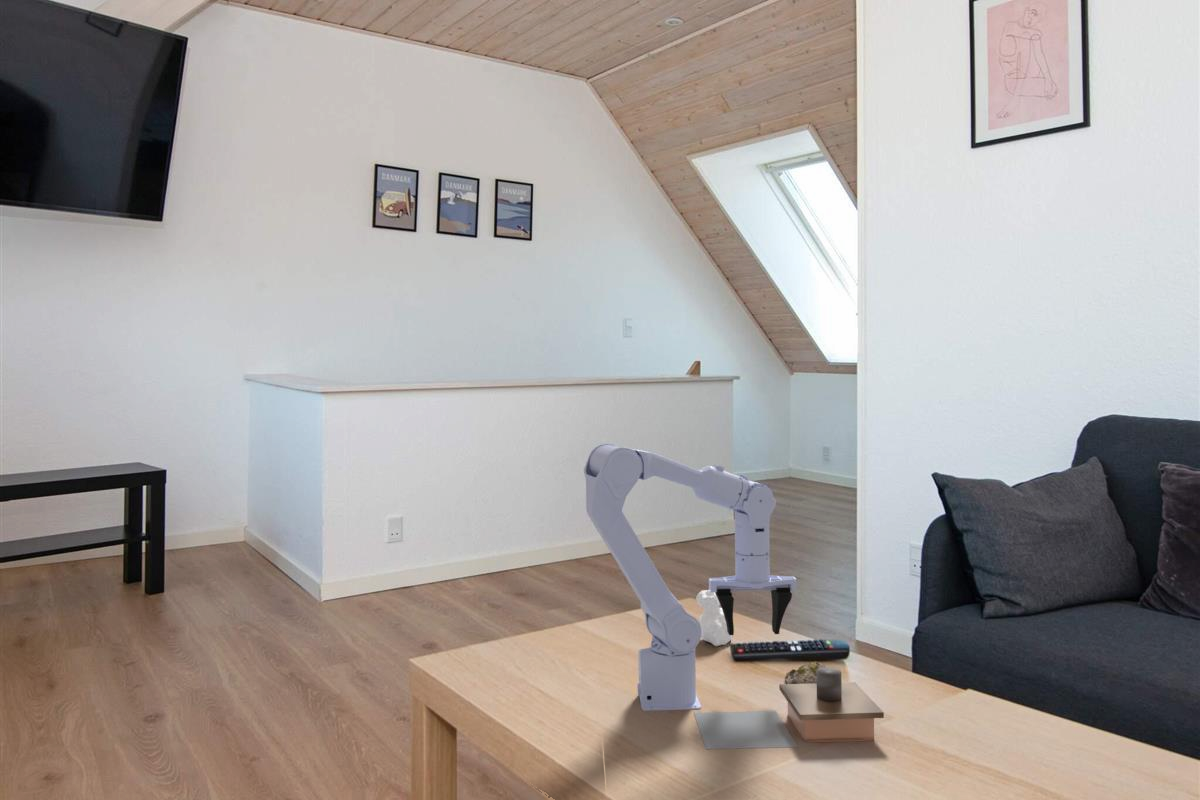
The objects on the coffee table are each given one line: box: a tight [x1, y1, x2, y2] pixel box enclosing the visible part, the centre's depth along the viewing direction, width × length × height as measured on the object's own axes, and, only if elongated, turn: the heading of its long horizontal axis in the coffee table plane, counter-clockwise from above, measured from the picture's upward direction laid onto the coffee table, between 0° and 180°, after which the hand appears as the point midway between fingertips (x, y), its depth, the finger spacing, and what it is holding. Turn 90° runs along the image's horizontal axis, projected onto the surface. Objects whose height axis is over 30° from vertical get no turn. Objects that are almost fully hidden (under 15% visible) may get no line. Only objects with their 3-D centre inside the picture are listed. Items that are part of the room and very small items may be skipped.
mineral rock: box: [783, 661, 827, 684], centre depth 145 cm, size 11×4×8 cm
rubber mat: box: [693, 710, 798, 750], centre depth 125 cm, size 13×13×1 cm
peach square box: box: [787, 702, 875, 743], centre depth 125 cm, size 10×10×4 cm
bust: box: [695, 589, 734, 647], centre depth 169 cm, size 12×8×11 cm
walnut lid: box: [778, 666, 885, 720], centre depth 125 cm, size 12×12×5 cm
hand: (753, 632), depth 141 cm, fingers open, 7 cm apart
